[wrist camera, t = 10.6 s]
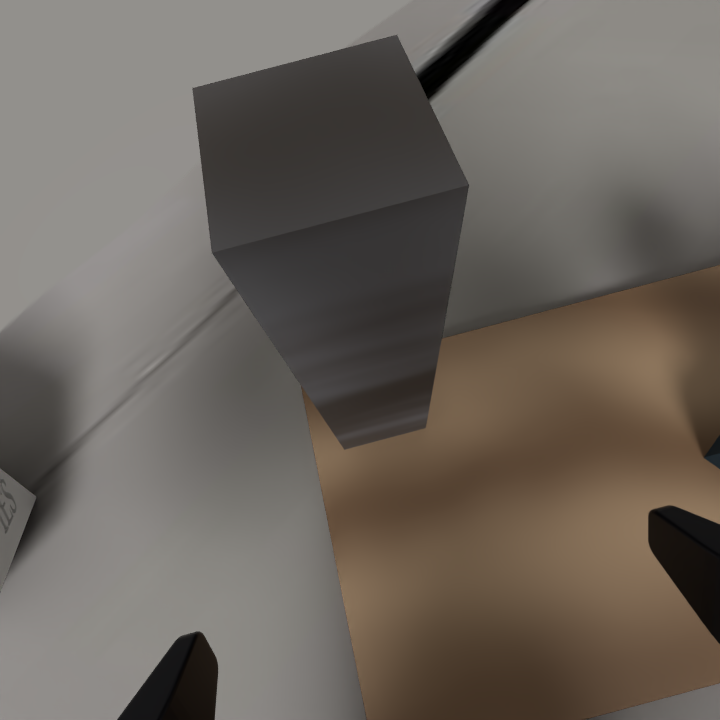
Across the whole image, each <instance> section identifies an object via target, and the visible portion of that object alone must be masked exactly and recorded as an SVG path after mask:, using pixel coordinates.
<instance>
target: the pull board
mask: <svg viewBox="0 0 720 720" xmlns="http://www.w3.org/2000/svg"><path fill="white" fill-rule="evenodd" d="M193 96H194V104H195V113H196V122H197V129H198V139H199V147H200V155H201V164H202V173H203V181H204V189H205V198H206V206H207V215H208V223H209V232H210V240H211V249H212V253H213V255H214V256H215V258H216V259H217V261H218V262H219V264H220V265H221V267H222V268H223V270H224V271H225V273H226V274H227V276H228V277H229V279H230V280H231V282H232V283H233V285H234V286H235V288H236V289H237V291H238V292H239V294H240V295H241V297H242V298H243V300H244V301H245V303H246V304H247V306H248V307H249V309H250V310H251V312H252V313H253V315H254V316H255V318H256V319H257V320H258V322H259V323H260V325H261V326H262V328H263V329H264V331H265V332H266V334H267V335H268V337H269V338H270V340H271V341H272V343H273V344H274V346H275V347H276V349H277V350H278V352H279V353H280V355H281V356H282V358H283V359H284V361H285V362H286V364H287V365H288V367H289V368H290V370H291V371H292V373H293V374H294V376H295V377H296V379H297V380H298V382H299V383H300V385H301V388H302V393H303V398H304V403H305V408H306V413H307V418H308V423H309V429H310V434H311V439H312V444H313V449H314V454H315V459H316V464H317V469H318V474H319V479H320V484H321V490H322V495H323V500H324V505H325V510H326V515H327V520H328V525H329V530H330V535H331V540H332V545H333V550H334V556H335V561H336V566H337V571H338V576H339V581H340V586H341V591H342V596H343V601H344V606H345V611H346V616H347V622H348V627H349V632H350V637H351V642H352V647H353V652H354V657H355V662H356V667H357V672H358V677H359V683H360V688H361V693H362V698H363V703H364V708H365V713H366V718H367V720H585V719H589V718H592V717H596V716H600V715H603V714H607V713H611V712H615V711H618V710H622V709H626V708H629V707H633V706H637V705H640V704H644V703H648V702H652V701H655V700H659V699H663V698H666V697H670V696H674V695H677V694H681V693H685V692H689V691H692V690H696V689H700V688H703V687H707V686H711V685H714V684H718V683H720V644H719V643H718V642H717V640H716V639H715V638H714V637H713V636H712V634H711V633H710V632H709V631H708V629H707V628H706V627H705V625H704V624H703V623H702V621H701V620H700V619H699V617H698V616H697V614H696V613H695V612H694V610H693V609H692V607H691V606H690V605H689V603H688V602H687V600H686V599H685V598H684V596H683V595H682V593H681V592H680V591H679V589H678V588H677V587H676V585H675V584H674V582H673V581H672V580H671V578H670V577H669V575H668V574H667V573H666V571H665V570H664V568H663V567H662V566H661V564H660V563H659V561H658V560H657V559H656V557H655V556H654V554H653V553H652V551H651V549H650V546H649V543H648V514H649V512H650V510H652V509H655V508H659V507H663V506H667V505H672V506H676V507H679V508H681V509H684V510H686V511H688V512H691V513H693V514H696V515H698V516H701V517H703V518H706V519H708V520H711V521H713V522H716V523H718V524H720V469H719V468H717V467H716V466H715V465H713V464H712V463H710V462H709V461H707V460H706V459H705V458H704V457H705V455H706V454H707V452H708V451H709V449H710V448H711V447H712V445H713V444H714V442H715V441H716V439H717V438H718V436H719V435H720V265H718V266H714V267H710V268H706V269H703V270H699V271H695V272H691V273H687V274H684V275H680V276H676V277H672V278H669V279H665V280H661V281H657V282H653V283H650V284H646V285H642V286H638V287H635V288H631V289H627V290H623V291H619V292H616V293H612V294H608V295H604V296H601V297H597V298H593V299H589V300H586V301H582V302H578V303H574V304H570V305H567V306H563V307H559V308H555V309H552V310H548V311H544V312H540V313H536V314H533V315H529V316H525V317H521V318H518V319H514V320H510V321H506V322H502V323H499V324H495V325H491V326H487V327H484V328H480V329H476V330H472V331H469V332H465V333H461V334H457V335H453V336H450V337H446V338H442V334H443V328H444V323H445V317H446V312H447V306H448V300H449V295H450V289H451V283H452V278H453V272H454V266H455V261H456V255H457V250H458V244H459V238H460V233H461V227H462V221H463V216H464V210H465V204H466V199H467V193H468V188H469V184H468V182H467V180H466V178H465V176H464V174H463V172H462V170H461V168H460V165H459V163H458V161H457V159H456V157H455V155H454V153H453V151H452V149H451V147H450V145H449V143H448V140H447V138H446V136H445V134H444V132H443V130H442V128H441V126H440V124H439V122H438V120H437V118H436V115H435V113H434V111H433V109H432V107H431V105H430V103H429V101H428V99H427V97H426V95H425V93H424V90H423V88H422V86H421V84H420V82H419V80H418V78H417V76H416V74H415V72H414V70H413V68H412V66H411V63H410V61H409V59H408V57H407V55H406V53H405V51H404V49H403V47H402V45H401V43H400V41H399V38H398V36H397V35H395V36H391V37H387V38H383V39H379V40H376V41H372V42H368V43H364V44H360V45H356V46H353V47H349V48H345V49H341V50H337V51H333V52H330V53H326V54H322V55H318V56H315V57H310V58H307V59H303V60H299V61H295V62H291V63H288V64H284V65H280V66H276V67H272V68H268V69H264V70H261V71H257V72H253V73H249V74H246V75H242V76H238V77H234V78H230V79H226V80H222V81H218V82H215V83H211V84H207V85H203V86H199V87H196V88H193Z"/></svg>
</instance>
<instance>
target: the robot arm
mask: <svg viewBox="0 0 720 720" xmlns="http://www.w3.org/2000/svg"><path fill="white" fill-rule="evenodd" d="M648 543H649V546H650V549H651V551H652V553H653V554H654V556H655V557H656V559H657V560H658V561H659V563H660V564H661V566H662V567H663V568H664V570H665V571H666V573H667V574H668V575H669V577H670V578H671V580H672V581H673V582H674V584H675V585H676V587H677V588H678V589H679V591H680V592H681V593H682V595H683V596H684V598H685V599H686V600H687V602H688V603H689V605H690V606H691V607H692V609H693V610H694V612H695V613H696V614H697V616H698V617H699V619H700V620H701V621H702V623H703V624H704V625H705V627H706V628H707V629H708V631H709V632H710V633H711V634H712V636H713V637H714V638H715V639H716V640H717V642H718V643H719V644H720V524H718V523H716V522H713V521H711V520H708V519H706V518H703V517H701V516H698V515H696V514H693V513H691V512H688V511H686V510H684V509H681V508H679V507H676V506H672V505H667V506H663V507H659V508H655V509H652V510H650V512H649V514H648ZM217 680H218V663H217V659H216V656H215V655H214V653H213V651H212V649H211V647H210V645H209V644H208V642H207V640H206V638H205V636H204V635H203V633H201V632H194V633H190V634H186V635H183V636H180V637H179V638H178V639H177V640H176V641H175V642H174V643H173V645H172V646H171V648H170V649H169V650H168V652H167V653H166V654H165V656H164V657H163V658H162V660H161V661H160V662H159V664H158V665H157V666H156V668H155V669H154V671H153V672H152V673H151V675H150V676H149V677H148V679H147V680H146V681H145V683H144V684H143V685H142V687H141V688H140V689H139V691H138V692H137V694H136V695H135V696H134V698H133V699H132V700H131V702H130V703H129V704H128V706H127V707H126V708H125V710H124V711H123V712H122V714H121V715H120V717H119V718H118V719H117V720H215V707H216V694H217Z"/></svg>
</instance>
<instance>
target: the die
mask: <svg viewBox="0 0 720 720" xmlns="http://www.w3.org/2000/svg"><path fill="white" fill-rule="evenodd" d="M35 500H36V496H35V495H33V494H32V493H31V492H30V491H28V490H27V489H26V488H25V487H23V486H22V485H21V484H19V483H18V482H17V481H16V480H14V479H13V478H12V477H11V476H9V475H8V474H7V473H6V472H4V471H3V470H2V469H0V592H1V589H2V586H3V584H4V581H5V578H6V576H7V573H8V571H9V568H10V565H11V563H12V560H13V558H14V555H15V552H16V550H17V547H18V544H19V542H20V539H21V537H22V534H23V531H24V529H25V526H26V523H27V521H28V518H29V516H30V513H31V510H32V508H33V505H34V502H35Z"/></svg>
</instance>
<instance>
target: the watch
mask: <svg viewBox="0 0 720 720" xmlns="http://www.w3.org/2000/svg"><path fill="white" fill-rule="evenodd" d="M704 458H705V459H706V460H707V461H709V462H710V463H712V464H713V465H715V466H716V467H717V468H719V469H720V435H719V436H718V438H717V439H716V441H715V442H714V444H713V445H712V447H711V448H710V449H709V451H708V452H707V454H706V455H705V457H704Z"/></svg>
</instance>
